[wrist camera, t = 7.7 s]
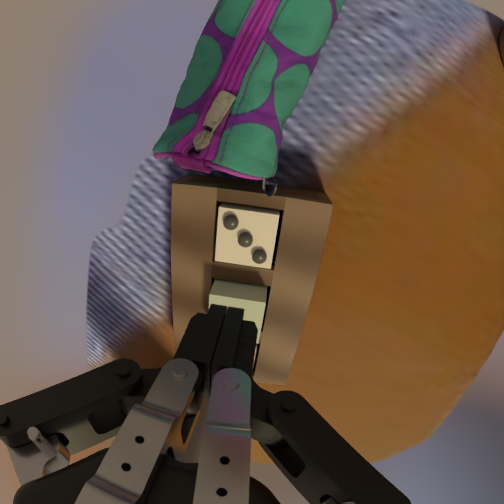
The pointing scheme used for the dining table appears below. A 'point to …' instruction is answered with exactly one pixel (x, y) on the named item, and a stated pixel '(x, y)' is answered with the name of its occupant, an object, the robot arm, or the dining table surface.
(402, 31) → the dining table surface
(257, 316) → the button one dot
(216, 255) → the button three dots
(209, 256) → the button panel
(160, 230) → the dining table surface
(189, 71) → the pencil case
